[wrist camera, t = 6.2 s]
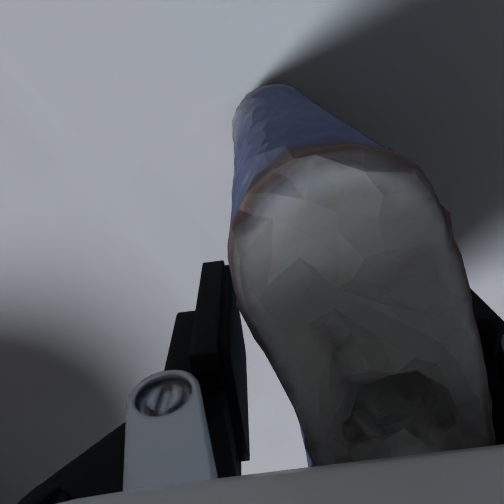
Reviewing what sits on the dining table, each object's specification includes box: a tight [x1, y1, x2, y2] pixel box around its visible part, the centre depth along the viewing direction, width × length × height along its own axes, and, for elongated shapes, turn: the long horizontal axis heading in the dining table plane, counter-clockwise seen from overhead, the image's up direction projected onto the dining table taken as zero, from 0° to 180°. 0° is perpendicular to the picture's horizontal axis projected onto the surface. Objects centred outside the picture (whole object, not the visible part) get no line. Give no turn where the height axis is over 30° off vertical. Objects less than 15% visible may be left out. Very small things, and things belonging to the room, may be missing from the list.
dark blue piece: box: [228, 84, 496, 467], centre depth 9 cm, size 9×3×11 cm, turn 14°
